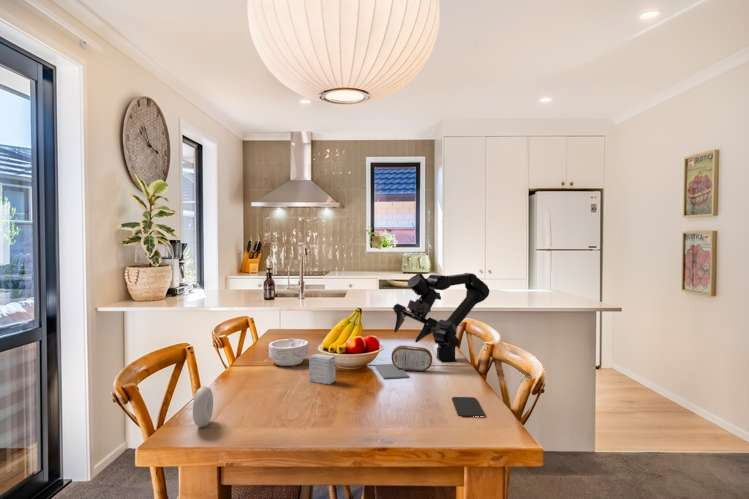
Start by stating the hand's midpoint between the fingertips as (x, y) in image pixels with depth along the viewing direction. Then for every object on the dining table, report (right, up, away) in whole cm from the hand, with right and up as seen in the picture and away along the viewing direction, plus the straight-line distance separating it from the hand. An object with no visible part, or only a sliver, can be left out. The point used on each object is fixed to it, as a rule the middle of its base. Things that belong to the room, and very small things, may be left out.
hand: (405, 337), depth 170 cm
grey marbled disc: (-56, -13, -52) cm, 77 cm away
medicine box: (-29, -12, -15) cm, 35 cm away
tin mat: (-5, -12, -3) cm, 14 cm away
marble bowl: (-45, -12, +8) cm, 47 cm away
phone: (+15, -14, -37) cm, 43 cm away
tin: (+2, -12, -2) cm, 12 cm away
